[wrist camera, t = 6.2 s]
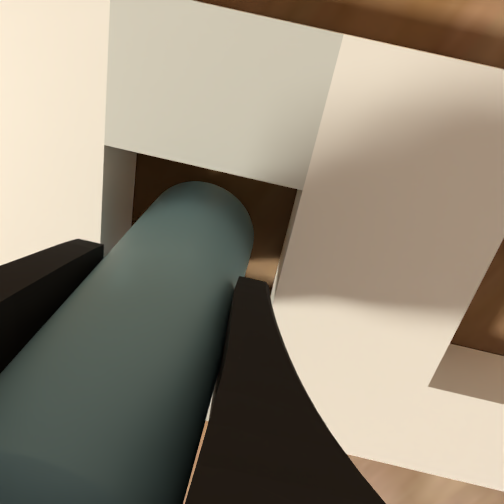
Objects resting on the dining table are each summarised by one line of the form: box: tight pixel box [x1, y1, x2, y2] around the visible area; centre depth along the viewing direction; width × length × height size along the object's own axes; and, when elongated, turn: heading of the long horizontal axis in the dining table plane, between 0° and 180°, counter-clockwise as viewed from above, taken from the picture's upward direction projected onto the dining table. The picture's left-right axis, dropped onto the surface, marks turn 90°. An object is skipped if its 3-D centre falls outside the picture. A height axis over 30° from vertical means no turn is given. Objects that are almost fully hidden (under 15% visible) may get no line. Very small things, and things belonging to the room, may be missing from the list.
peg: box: [0, 181, 254, 504], centre depth 9 cm, size 3×3×9 cm
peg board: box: [0, 0, 504, 491], centre depth 13 cm, size 22×12×2 cm, turn 79°
